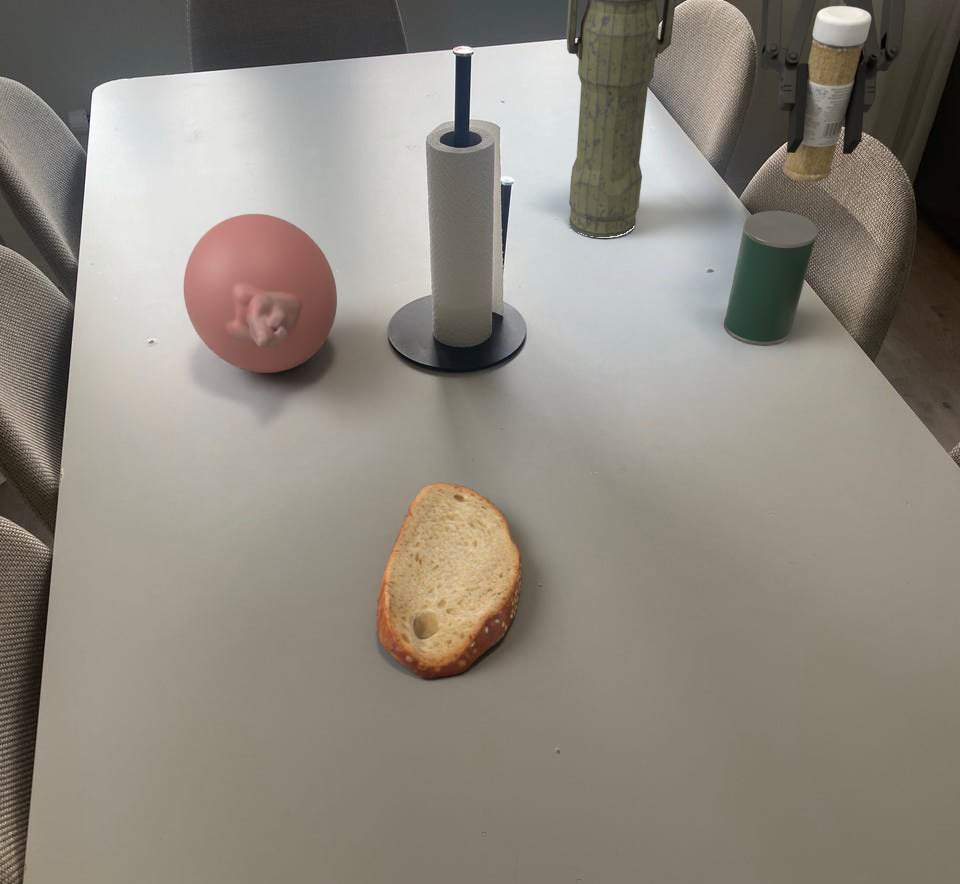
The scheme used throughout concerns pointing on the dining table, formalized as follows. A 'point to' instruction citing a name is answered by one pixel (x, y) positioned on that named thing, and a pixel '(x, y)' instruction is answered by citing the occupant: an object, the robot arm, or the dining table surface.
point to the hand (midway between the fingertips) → (823, 146)
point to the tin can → (769, 276)
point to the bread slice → (448, 582)
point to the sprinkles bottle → (828, 89)
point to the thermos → (612, 108)
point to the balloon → (260, 293)
